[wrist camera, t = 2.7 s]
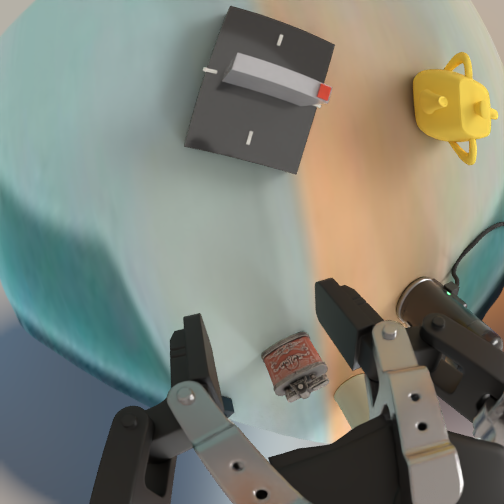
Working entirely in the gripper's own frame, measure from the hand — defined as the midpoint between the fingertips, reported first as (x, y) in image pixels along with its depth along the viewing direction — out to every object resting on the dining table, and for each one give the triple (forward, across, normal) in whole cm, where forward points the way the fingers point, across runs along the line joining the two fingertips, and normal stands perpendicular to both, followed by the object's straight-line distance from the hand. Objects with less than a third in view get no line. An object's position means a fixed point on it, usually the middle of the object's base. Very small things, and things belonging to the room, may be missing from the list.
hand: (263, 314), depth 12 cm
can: (+22, +20, -45) cm, 54 cm away
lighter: (+22, +6, -25) cm, 34 cm away
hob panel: (+21, +7, +11) cm, 25 cm away
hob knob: (+19, +7, +11) cm, 23 cm away
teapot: (+22, +33, +9) cm, 40 cm away
